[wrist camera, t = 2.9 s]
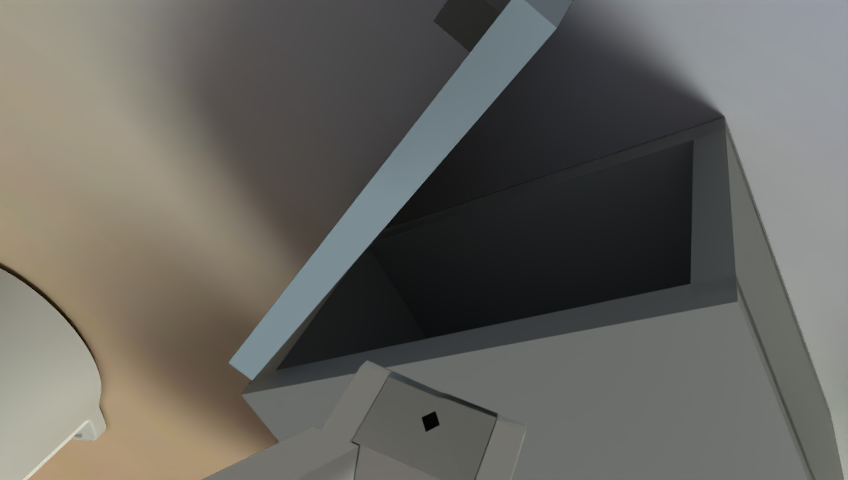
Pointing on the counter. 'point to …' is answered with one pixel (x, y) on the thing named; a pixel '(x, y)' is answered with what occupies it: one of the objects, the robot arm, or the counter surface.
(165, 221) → the counter surface
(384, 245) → the storage box
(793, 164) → the counter surface
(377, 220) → the side door
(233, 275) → the counter surface
